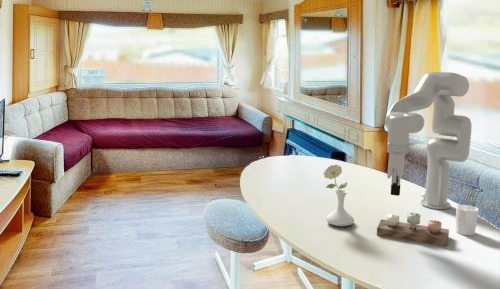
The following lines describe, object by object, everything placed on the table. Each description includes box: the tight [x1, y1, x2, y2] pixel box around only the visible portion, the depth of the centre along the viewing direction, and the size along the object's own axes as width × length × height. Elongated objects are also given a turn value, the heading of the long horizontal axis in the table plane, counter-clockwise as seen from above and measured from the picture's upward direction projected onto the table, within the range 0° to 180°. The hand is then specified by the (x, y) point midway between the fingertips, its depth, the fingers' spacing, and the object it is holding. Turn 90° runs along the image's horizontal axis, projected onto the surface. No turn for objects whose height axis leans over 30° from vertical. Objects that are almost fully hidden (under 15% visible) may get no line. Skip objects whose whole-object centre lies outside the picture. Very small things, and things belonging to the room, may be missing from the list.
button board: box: [376, 218, 450, 247], centre depth 167 cm, size 25×10×3 cm, turn 65°
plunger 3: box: [427, 219, 442, 233], centre depth 163 cm, size 5×5×7 cm
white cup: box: [455, 204, 480, 237], centre depth 170 cm, size 8×8×10 cm
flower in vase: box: [323, 164, 355, 227], centre depth 177 cm, size 13×11×25 cm
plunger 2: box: [406, 212, 421, 230], centre depth 166 cm, size 5×5×7 cm
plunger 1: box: [386, 213, 400, 227], centre depth 169 cm, size 5×5×7 cm
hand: (395, 194), depth 168 cm, fingers closed
